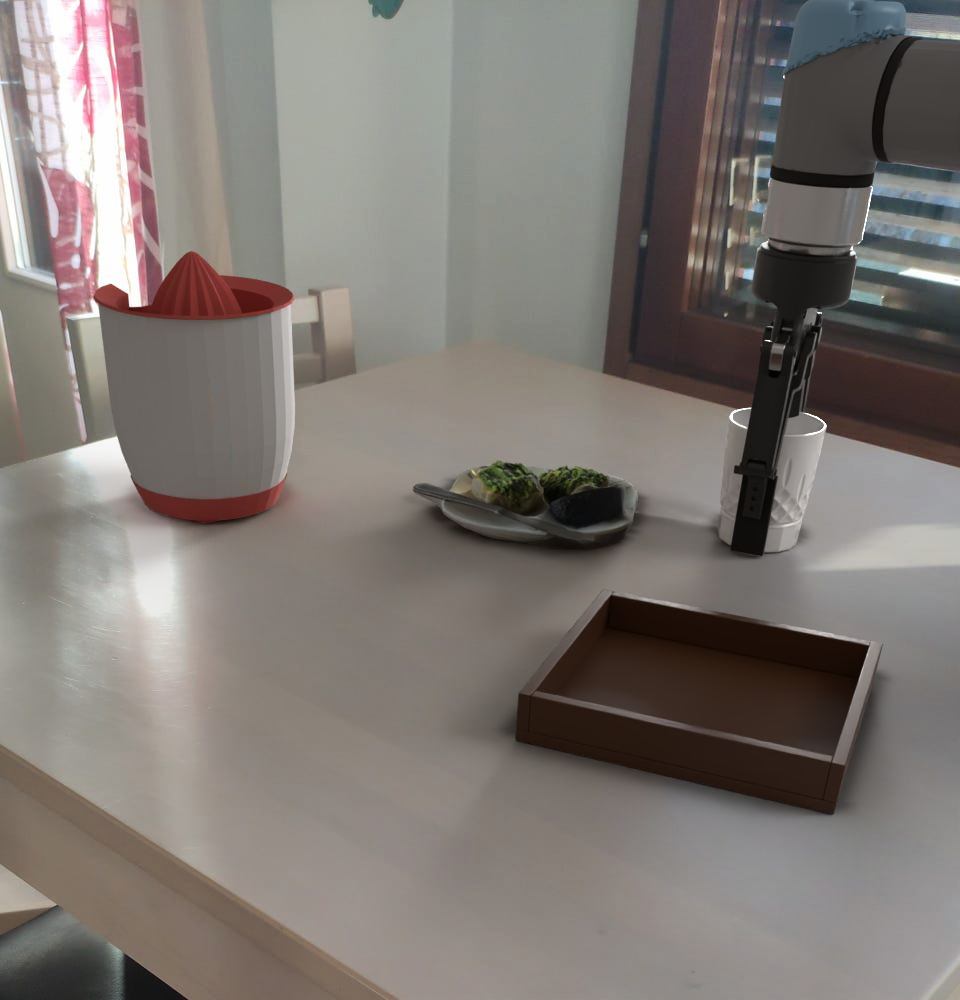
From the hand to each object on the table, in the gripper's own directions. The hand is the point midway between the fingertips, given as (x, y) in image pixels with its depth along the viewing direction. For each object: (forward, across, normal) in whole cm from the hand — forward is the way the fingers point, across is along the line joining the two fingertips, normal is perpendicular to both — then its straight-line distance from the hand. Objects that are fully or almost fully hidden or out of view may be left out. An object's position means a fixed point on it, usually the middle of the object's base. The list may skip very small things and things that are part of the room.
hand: (756, 535), depth 108 cm
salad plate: (0, +4, -18) cm, 18 cm away
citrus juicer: (+1, +14, -46) cm, 48 cm away
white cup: (0, 0, 0) cm, 0 cm away
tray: (0, +33, +3) cm, 33 cm away
